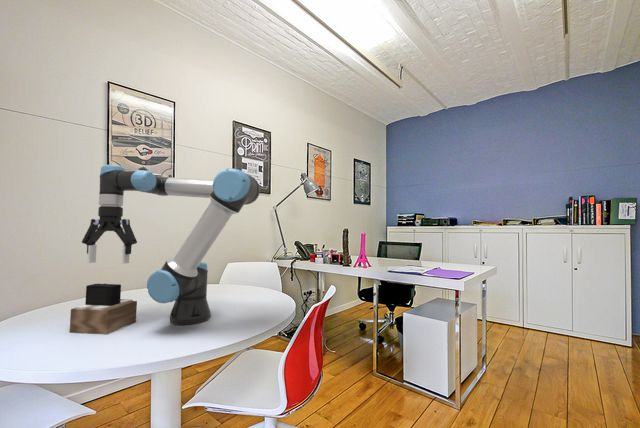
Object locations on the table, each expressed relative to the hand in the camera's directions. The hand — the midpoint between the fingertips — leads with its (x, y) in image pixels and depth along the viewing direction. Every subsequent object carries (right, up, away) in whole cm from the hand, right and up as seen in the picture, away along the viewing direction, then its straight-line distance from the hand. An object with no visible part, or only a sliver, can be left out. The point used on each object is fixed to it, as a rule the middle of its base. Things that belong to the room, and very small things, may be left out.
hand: (108, 263), depth 110 cm
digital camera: (0, -15, -1) cm, 15 cm away
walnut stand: (0, -23, -1) cm, 23 cm away
